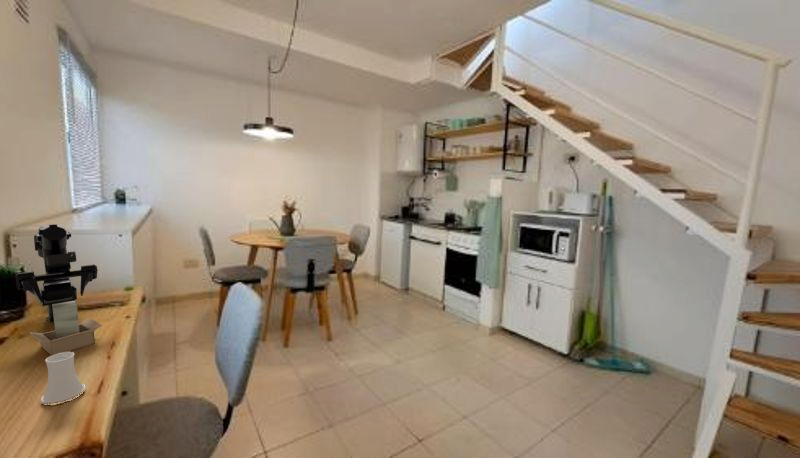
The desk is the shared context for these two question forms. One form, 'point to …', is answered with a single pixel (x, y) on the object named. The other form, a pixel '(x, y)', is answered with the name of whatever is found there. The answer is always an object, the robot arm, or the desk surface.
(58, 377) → the vase
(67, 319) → the box
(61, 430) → the desk surface
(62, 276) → the robot arm
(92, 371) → the desk surface
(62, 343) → the carton
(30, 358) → the desk surface
